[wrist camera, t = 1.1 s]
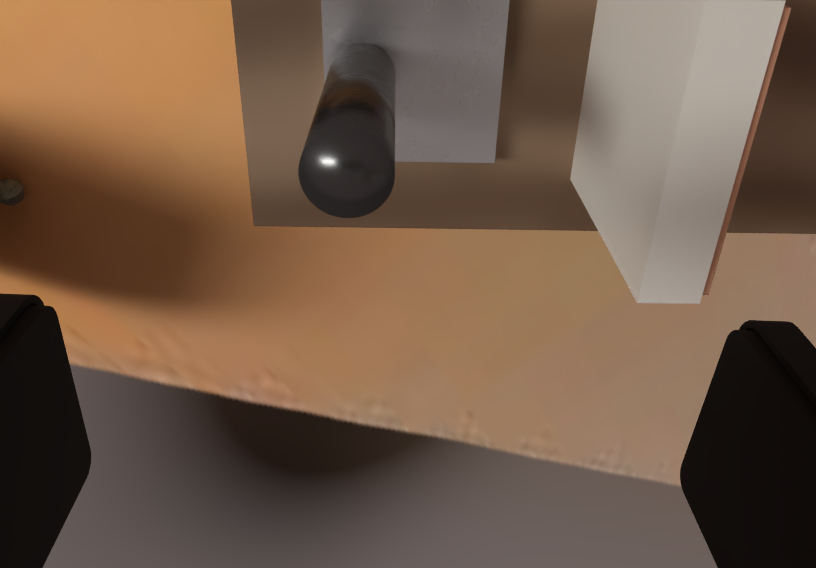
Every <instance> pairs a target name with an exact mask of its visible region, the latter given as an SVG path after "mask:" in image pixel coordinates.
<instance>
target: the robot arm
mask: <svg viewBox="0 0 816 568" xmlns="http://www.w3.org/2000/svg"><path fill="white" fill-rule="evenodd" d="M90 464H91V450H90V445H89V441H88V437H87V433H86V429H85V425H84V421H83V417H82V413H81V409H80V405H79V401H78V397H77V393H76V389H75V385H74V381H73V377H72V373H71V369H70V365H69V361H68V357H67V353H66V348H65V344H64V340H63V336H62V332H61V328H60V324H59V320H58V316H57V314H56V311H55V310H54V308H53V307H50V306H44V304H43V302H42V300H41V299H40V298H39V297H38V296H36V295H21V294H0V568H42V567H43V565H44V563H45V561H46V559H47V557H48V555H49V553H50V551H51V549H52V547H53V545H54V543H55V541H56V539H57V537H58V535H59V533H60V531H61V529H62V527H63V525H64V523H65V521H66V519H67V517H68V515H69V513H70V511H71V509H72V507H73V505H74V503H75V501H76V498H77V496H78V495H79V493H80V490H81V488H82V486H83V484H84V482H85V480H86V478H87V476H88V473H89V469H90ZM680 480H681V486H682V489H683V492H684V495H685V497H686V499H687V501H688V503H689V505H690V508H691V510H692V512H693V514H694V516H695V518H696V521H697V523H698V525H699V527H700V530H701V532H702V534H703V536H704V538H705V541H706V543H707V545H708V547H709V549H710V551H711V554H712V556H713V558H714V560H715V562H716V564H717V567H718V568H816V348H815V347H814V346H813V345H812V343H811V342H810V341H809V340H808V339H807V338H806V336H805V335H804V334H803V333H802V332H801V331H800V329H799V328H798V327H797V326H796V325H794V324H793V323H791V322H784V321H756V320H749V321H747V322H745V323H744V324H743V325H742V326H741V327H740V329H739V330H734V331H732V332H731V333H730V334H729V335H728V337H727V339H726V342H725V345H724V347H723V350H722V353H721V356H720V359H719V361H718V364H717V367H716V370H715V373H714V375H713V378H712V381H711V384H710V387H709V389H708V392H707V395H706V398H705V401H704V403H703V406H702V409H701V412H700V415H699V417H698V420H697V423H696V426H695V429H694V431H693V434H692V437H691V440H690V443H689V445H688V448H687V451H686V454H685V457H684V459H683V462H682V465H681V471H680Z"/></svg>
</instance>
